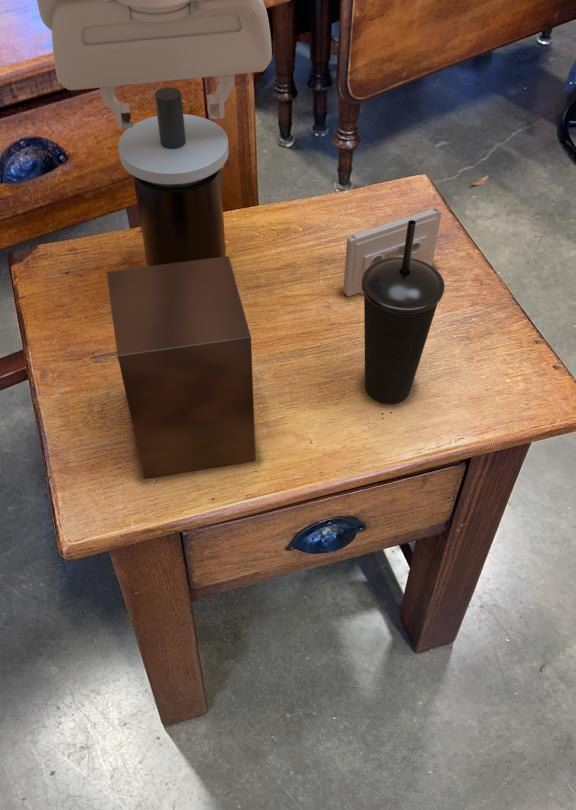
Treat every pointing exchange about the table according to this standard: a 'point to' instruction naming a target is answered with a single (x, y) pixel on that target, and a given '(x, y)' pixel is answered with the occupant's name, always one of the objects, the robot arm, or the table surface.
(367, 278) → the drinking cup
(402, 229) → the cassette
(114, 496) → the table surface
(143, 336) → the riser
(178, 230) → the thermos
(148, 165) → the lid
